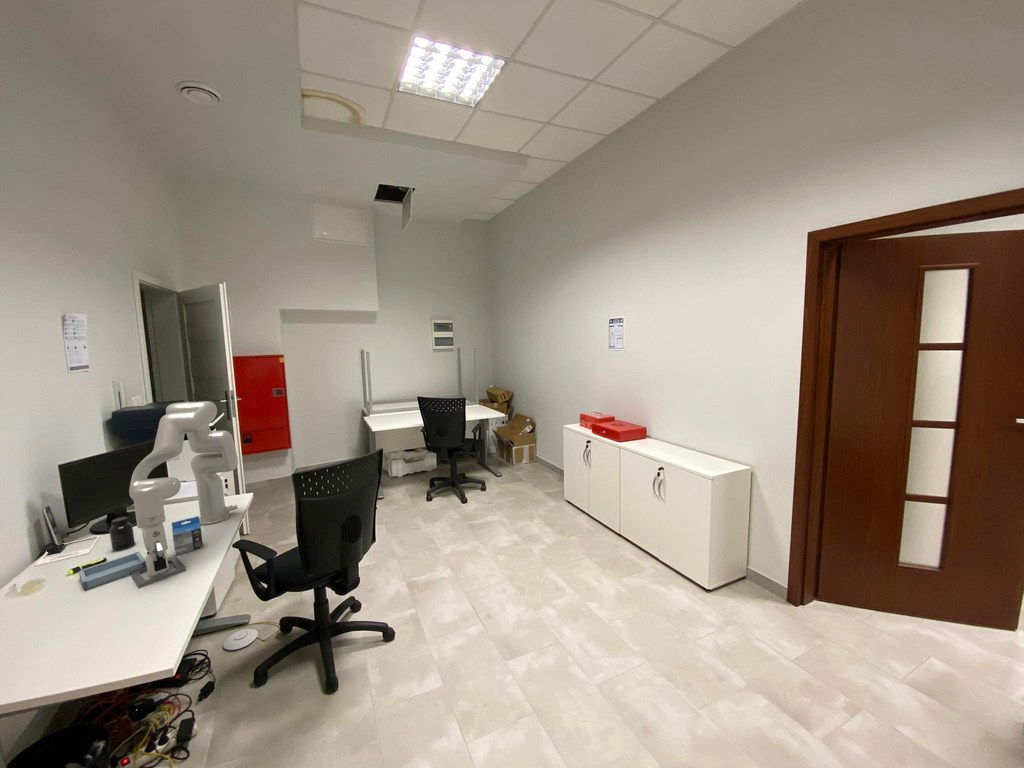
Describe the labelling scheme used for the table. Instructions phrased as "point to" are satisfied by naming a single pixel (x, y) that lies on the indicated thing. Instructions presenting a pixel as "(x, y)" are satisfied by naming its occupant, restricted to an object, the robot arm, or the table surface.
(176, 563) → the gray square frame
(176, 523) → the label tape box
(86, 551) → the photo frame
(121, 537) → the supplement bottle
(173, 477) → the robot arm
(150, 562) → the eye dropper bottle
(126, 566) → the tray
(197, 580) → the table surface
